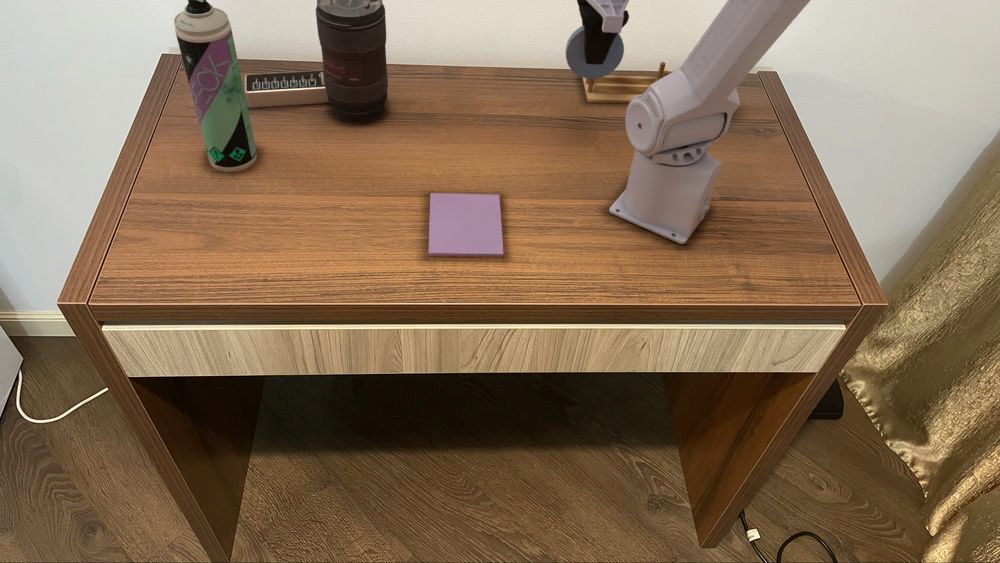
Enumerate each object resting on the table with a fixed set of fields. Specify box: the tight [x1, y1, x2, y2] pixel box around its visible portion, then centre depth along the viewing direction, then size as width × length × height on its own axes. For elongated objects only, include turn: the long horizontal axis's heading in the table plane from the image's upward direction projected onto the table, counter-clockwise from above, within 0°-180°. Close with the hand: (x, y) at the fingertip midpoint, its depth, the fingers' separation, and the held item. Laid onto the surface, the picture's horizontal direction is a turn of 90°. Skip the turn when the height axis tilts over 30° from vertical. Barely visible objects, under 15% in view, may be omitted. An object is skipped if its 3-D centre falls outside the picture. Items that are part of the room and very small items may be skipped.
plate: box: [564, 25, 625, 79], centre depth 91 cm, size 7×1×7 cm, turn 92°
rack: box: [581, 61, 670, 104], centre depth 104 cm, size 11×6×4 cm, turn 93°
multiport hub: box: [244, 69, 330, 109], centre depth 99 cm, size 4×11×2 cm, turn 103°
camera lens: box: [315, 0, 389, 124], centre depth 93 cm, size 8×8×15 cm
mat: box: [428, 192, 505, 258], centre depth 84 cm, size 10×8×1 cm
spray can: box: [173, 0, 258, 173], centre depth 83 cm, size 6×6×20 cm
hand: (593, 59), depth 92 cm, fingers closed on plate, 1 cm apart
